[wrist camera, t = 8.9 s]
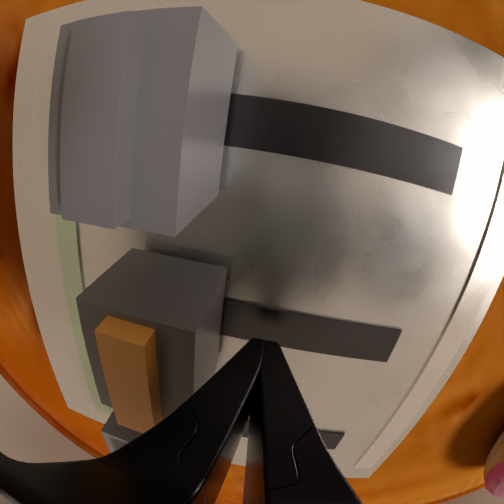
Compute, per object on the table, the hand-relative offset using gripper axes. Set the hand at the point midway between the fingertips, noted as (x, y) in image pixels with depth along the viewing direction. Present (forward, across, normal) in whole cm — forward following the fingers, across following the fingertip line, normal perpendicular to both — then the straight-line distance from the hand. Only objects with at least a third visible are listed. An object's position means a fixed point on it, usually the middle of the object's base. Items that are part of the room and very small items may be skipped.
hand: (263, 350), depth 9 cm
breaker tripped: (+1, +3, 0) cm, 3 cm away
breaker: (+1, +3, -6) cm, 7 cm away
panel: (+3, +1, 0) cm, 3 cm away
